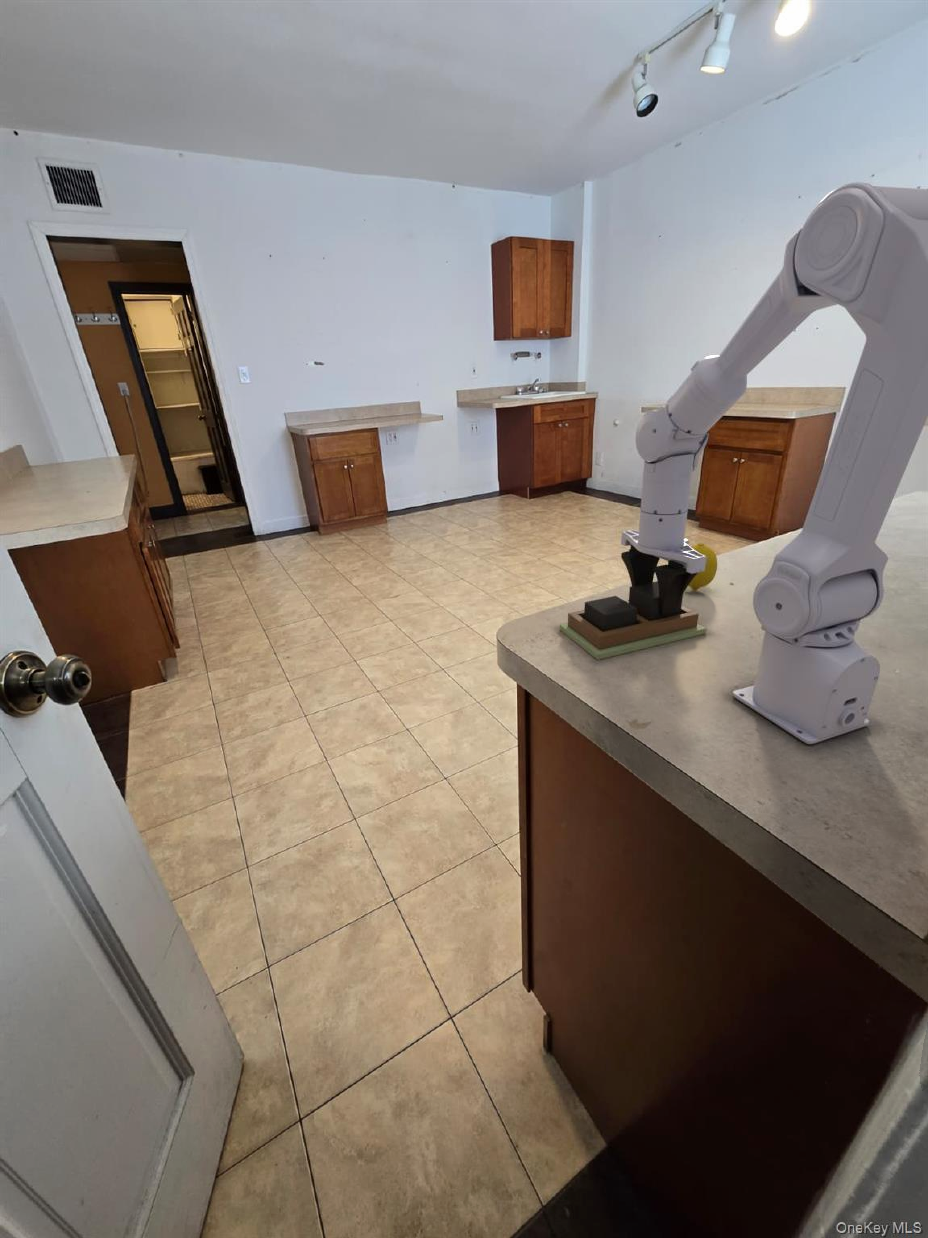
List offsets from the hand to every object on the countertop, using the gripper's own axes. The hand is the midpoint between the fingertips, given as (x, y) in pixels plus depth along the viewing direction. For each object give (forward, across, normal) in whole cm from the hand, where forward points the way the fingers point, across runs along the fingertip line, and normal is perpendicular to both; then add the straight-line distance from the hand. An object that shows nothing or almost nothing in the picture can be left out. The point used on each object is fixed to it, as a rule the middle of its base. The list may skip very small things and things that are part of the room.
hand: (654, 606), depth 72 cm
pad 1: (+2, 0, +7) cm, 8 cm away
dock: (+3, 0, +4) cm, 5 cm away
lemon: (+3, +8, -14) cm, 17 cm away
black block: (+1, 0, 0) cm, 1 cm away
